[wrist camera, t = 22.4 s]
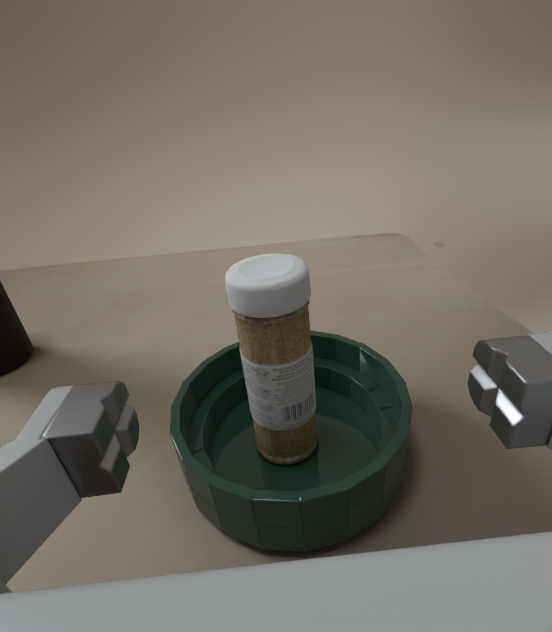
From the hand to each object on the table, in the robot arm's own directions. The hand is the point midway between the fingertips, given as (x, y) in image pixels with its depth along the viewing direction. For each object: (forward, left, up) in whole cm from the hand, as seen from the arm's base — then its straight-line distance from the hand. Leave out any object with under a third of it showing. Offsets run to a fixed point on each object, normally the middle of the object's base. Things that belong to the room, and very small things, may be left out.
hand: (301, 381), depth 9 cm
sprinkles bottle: (+6, -10, -16) cm, 20 cm away
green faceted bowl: (+6, -11, -16) cm, 20 cm away
